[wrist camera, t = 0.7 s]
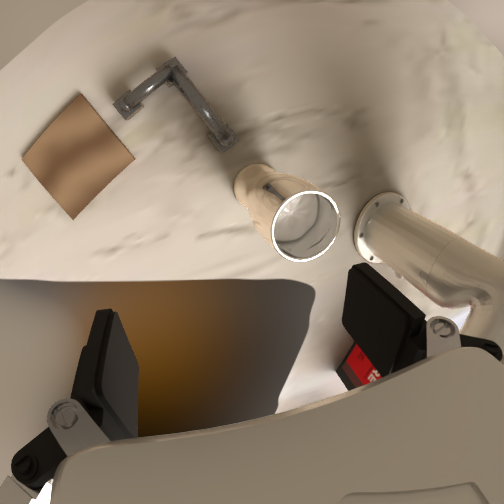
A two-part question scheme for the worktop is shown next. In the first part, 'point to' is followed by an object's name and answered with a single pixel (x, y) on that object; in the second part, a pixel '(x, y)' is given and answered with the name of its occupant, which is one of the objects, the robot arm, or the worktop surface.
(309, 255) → the beer glass
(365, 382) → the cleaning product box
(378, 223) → the robot arm
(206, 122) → the grey metal bent rod
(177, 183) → the worktop surface
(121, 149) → the walnut board
